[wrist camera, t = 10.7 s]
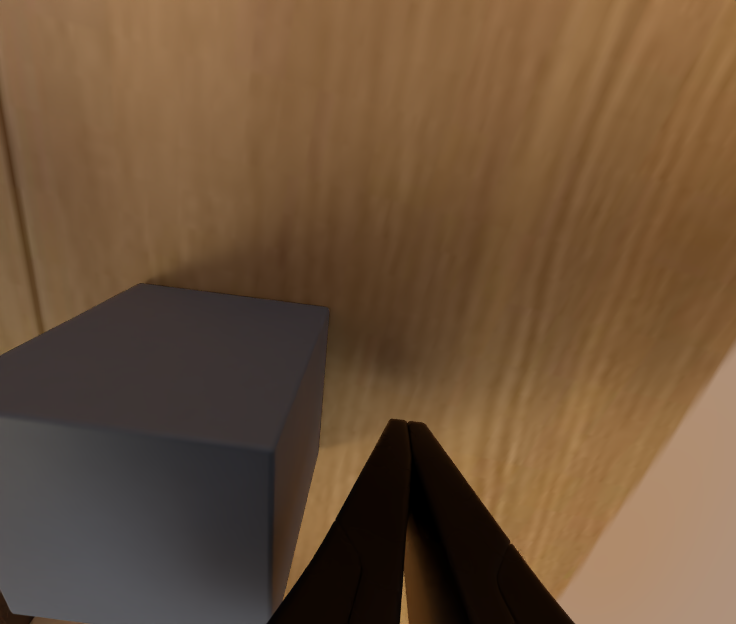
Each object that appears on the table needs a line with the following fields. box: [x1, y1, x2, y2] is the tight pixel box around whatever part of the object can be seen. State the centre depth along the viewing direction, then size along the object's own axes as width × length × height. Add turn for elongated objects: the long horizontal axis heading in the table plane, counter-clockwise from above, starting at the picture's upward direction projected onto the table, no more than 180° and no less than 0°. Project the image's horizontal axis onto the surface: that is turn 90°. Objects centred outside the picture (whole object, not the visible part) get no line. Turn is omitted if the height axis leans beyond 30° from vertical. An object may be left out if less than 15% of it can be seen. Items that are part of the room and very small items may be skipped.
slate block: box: [0, 283, 329, 624], centre depth 8 cm, size 5×5×5 cm
